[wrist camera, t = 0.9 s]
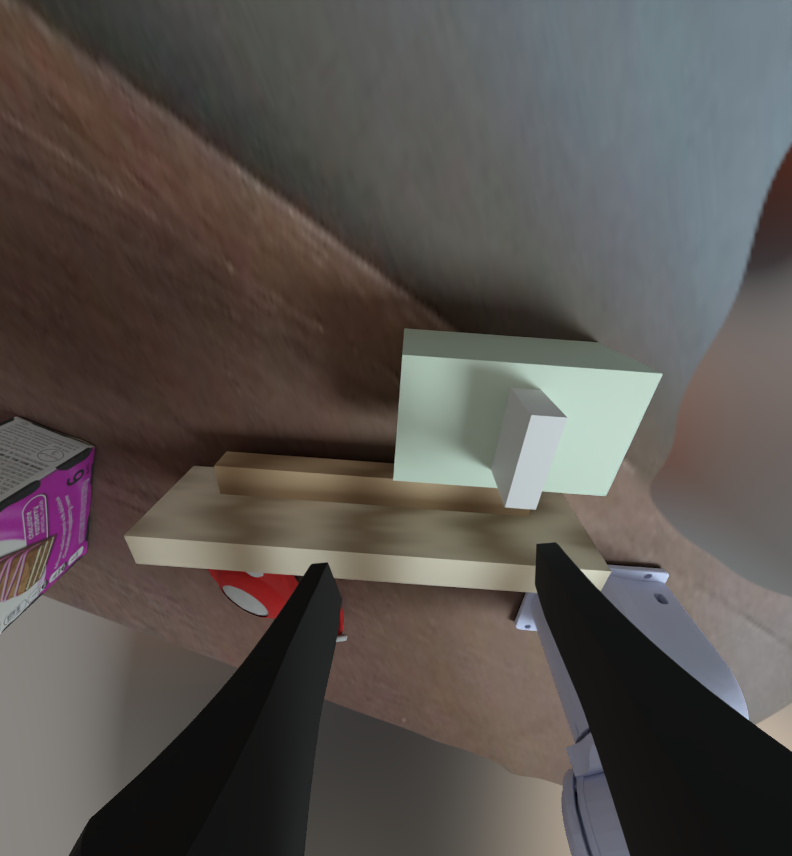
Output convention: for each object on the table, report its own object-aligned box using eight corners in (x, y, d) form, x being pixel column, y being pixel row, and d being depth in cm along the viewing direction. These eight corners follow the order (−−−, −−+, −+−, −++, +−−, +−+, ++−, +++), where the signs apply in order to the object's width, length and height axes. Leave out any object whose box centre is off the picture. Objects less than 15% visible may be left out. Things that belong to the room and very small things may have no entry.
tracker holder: (198, 598, 27) (184, 540, 20) (236, 552, 30) (235, 489, 24) (330, 672, 26) (360, 637, 20) (354, 616, 29) (387, 570, 23)
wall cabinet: (597, 341, 17) (716, 399, 10) (562, 441, 20) (638, 536, 13) (404, 327, 17) (401, 376, 10) (396, 429, 20) (390, 518, 13)
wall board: (571, 467, 21) (627, 542, 15) (553, 516, 22) (597, 597, 17) (186, 439, 21) (109, 504, 15) (200, 490, 22) (136, 563, 17)
